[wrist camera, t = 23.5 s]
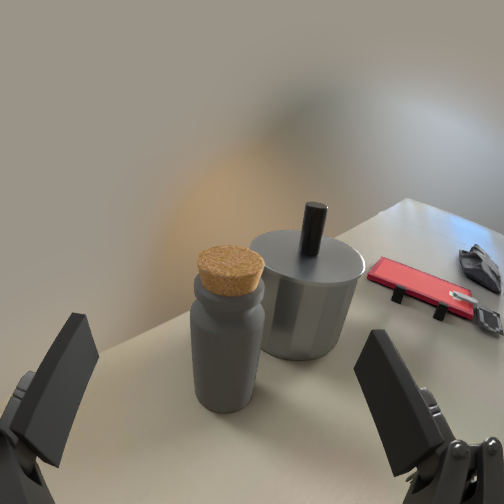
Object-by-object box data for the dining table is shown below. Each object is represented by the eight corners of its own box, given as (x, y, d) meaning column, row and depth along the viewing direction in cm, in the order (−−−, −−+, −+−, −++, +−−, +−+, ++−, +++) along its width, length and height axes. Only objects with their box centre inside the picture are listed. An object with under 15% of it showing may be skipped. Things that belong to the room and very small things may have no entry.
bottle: (264, 388, 27) (288, 259, 20) (228, 424, 22) (237, 292, 16) (220, 361, 30) (226, 235, 23) (182, 391, 25) (170, 258, 19)
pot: (226, 321, 36) (230, 248, 32) (287, 290, 44) (298, 228, 40) (299, 377, 28) (321, 300, 24) (354, 329, 37) (376, 262, 32)
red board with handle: (502, 345, 31) (494, 307, 42) (509, 332, 30) (500, 296, 41) (359, 287, 47) (380, 262, 58) (364, 273, 46) (383, 250, 57)
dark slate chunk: (452, 274, 55) (459, 256, 53) (458, 251, 70) (463, 237, 67) (501, 298, 46) (509, 280, 43) (497, 269, 60) (503, 255, 58)
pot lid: (225, 252, 32) (228, 195, 29) (297, 230, 41) (304, 186, 38) (321, 309, 24) (338, 239, 21) (379, 267, 32) (393, 216, 29)
